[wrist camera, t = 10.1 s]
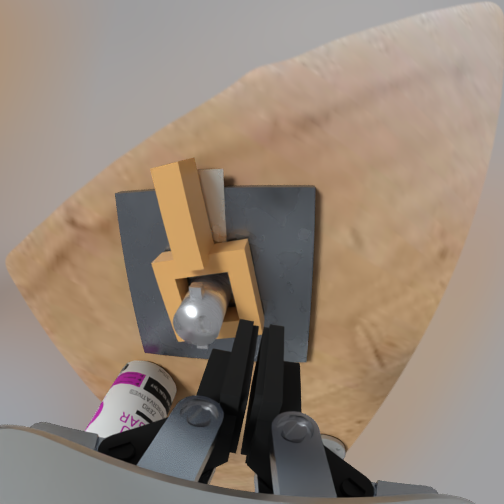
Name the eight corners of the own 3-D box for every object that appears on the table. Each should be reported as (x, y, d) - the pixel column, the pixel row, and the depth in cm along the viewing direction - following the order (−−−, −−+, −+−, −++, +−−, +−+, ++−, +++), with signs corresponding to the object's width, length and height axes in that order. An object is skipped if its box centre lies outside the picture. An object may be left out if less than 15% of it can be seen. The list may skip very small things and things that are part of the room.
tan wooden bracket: (229, 149, 27) (218, 152, 23) (264, 318, 33) (261, 347, 28) (140, 171, 29) (116, 178, 24) (185, 326, 35) (172, 353, 30)
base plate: (305, 355, 36) (309, 410, 28) (147, 347, 38) (120, 393, 30) (314, 166, 29) (327, 178, 20) (118, 174, 31) (69, 190, 22)
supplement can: (121, 384, 42) (79, 458, 28) (128, 348, 39) (77, 428, 25) (170, 406, 42) (139, 486, 28) (183, 372, 39) (148, 462, 25)
